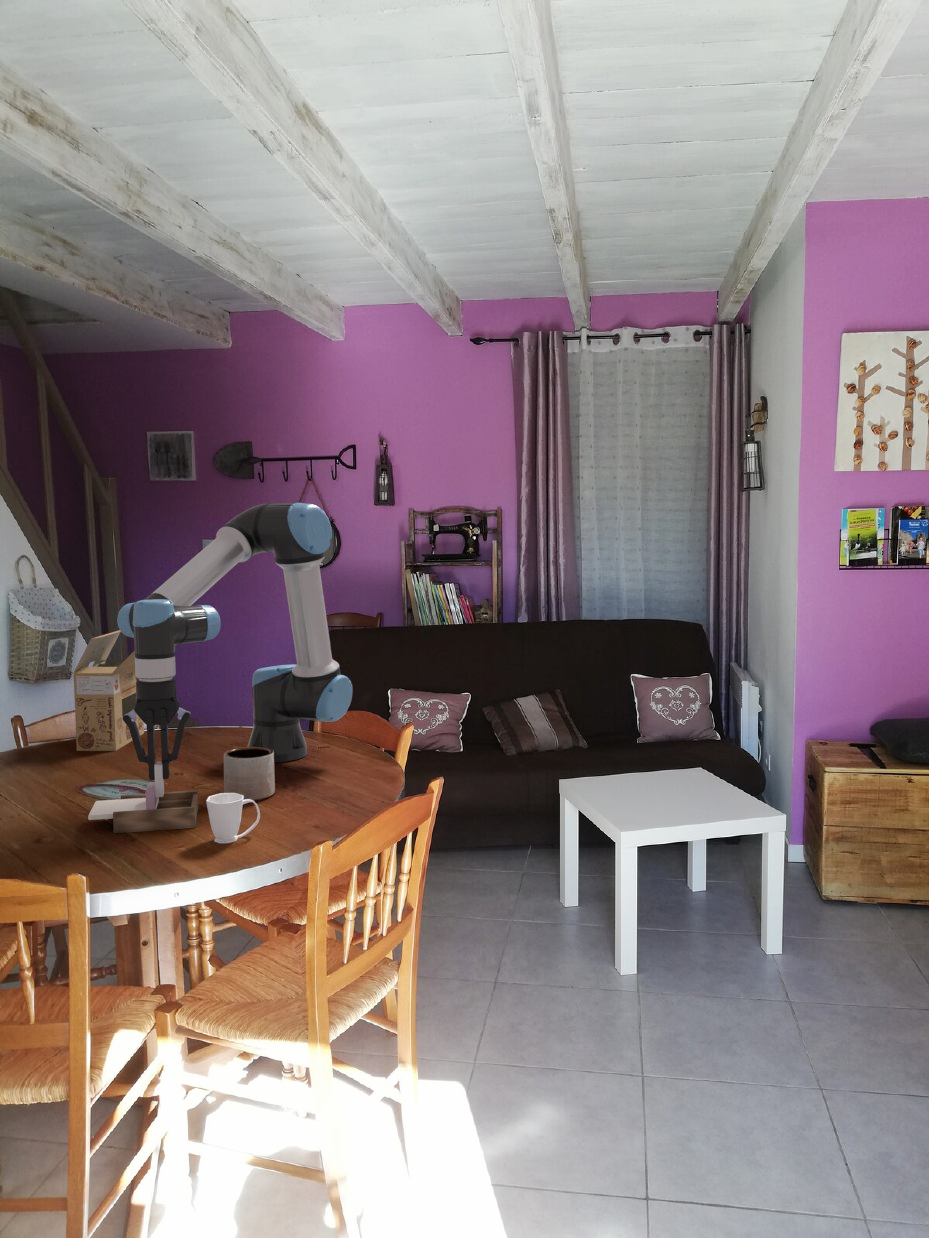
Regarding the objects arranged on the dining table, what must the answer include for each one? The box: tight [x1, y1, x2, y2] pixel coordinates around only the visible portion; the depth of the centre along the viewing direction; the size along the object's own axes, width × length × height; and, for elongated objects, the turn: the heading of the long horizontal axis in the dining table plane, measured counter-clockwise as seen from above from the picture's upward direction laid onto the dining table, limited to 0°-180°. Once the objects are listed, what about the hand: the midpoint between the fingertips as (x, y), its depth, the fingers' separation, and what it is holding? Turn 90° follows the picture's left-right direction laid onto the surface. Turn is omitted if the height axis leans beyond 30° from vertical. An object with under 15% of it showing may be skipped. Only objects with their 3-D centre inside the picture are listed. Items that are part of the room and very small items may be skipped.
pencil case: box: [112, 790, 199, 834], centre depth 183 cm, size 15×12×4 cm
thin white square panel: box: [87, 781, 159, 821], centre depth 182 cm, size 12×10×4 cm
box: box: [73, 629, 145, 752], centre depth 249 cm, size 21×20×30 cm
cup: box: [205, 792, 261, 844], centre depth 173 cm, size 7×10×8 cm
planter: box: [223, 746, 276, 802], centre depth 201 cm, size 11×11×10 cm
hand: (159, 794), depth 183 cm, fingers closed
